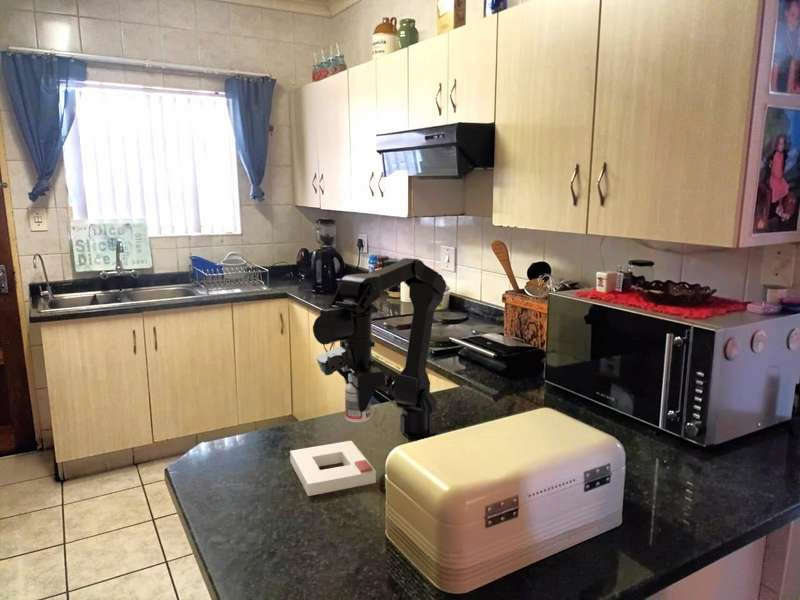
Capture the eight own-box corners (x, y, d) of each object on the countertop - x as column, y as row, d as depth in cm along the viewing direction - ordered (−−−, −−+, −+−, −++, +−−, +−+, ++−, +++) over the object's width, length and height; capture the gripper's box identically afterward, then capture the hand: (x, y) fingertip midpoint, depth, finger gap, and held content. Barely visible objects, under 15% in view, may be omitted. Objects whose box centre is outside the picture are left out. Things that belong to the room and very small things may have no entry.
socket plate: (351, 450, 133) (351, 438, 132) (375, 482, 118) (375, 468, 118) (290, 461, 127) (290, 448, 127) (308, 496, 113) (307, 481, 112)
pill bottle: (360, 412, 128) (360, 369, 127) (375, 419, 124) (375, 375, 123) (340, 417, 125) (340, 373, 123) (354, 425, 121) (354, 379, 119)
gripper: (308, 329, 127) (309, 398, 129) (333, 349, 110) (334, 428, 112) (357, 325, 131) (356, 392, 134) (388, 344, 114) (387, 420, 117)
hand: (357, 407), depth 124 cm, fingers closed on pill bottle, 5 cm apart
